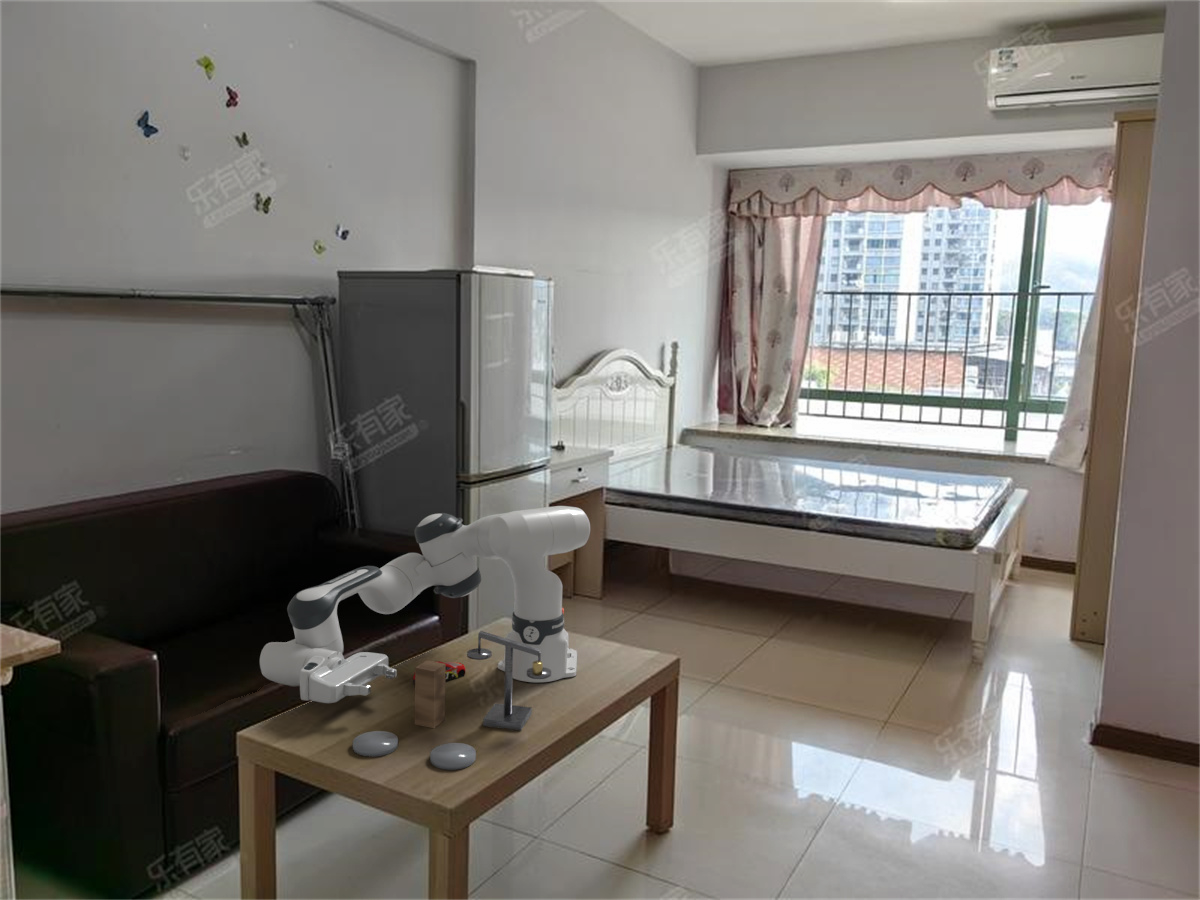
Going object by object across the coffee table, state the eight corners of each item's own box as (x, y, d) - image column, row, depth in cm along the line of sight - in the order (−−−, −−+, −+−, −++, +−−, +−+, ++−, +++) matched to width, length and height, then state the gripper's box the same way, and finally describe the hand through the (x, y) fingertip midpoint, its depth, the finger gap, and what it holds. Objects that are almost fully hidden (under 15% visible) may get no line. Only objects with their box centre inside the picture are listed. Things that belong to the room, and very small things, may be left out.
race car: (456, 669, 221) (456, 652, 220) (470, 675, 217) (470, 659, 216) (408, 683, 211) (409, 666, 211) (423, 690, 207) (423, 673, 207)
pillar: (426, 715, 194) (426, 660, 192) (444, 719, 192) (445, 663, 191) (414, 724, 190) (415, 667, 188) (433, 728, 188) (434, 671, 187)
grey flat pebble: (439, 746, 181) (439, 740, 180) (481, 751, 179) (481, 745, 179) (423, 766, 172) (423, 760, 172) (467, 772, 171) (467, 766, 171)
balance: (472, 707, 199) (474, 624, 196) (554, 716, 196) (556, 632, 193) (460, 723, 191) (461, 636, 188) (544, 733, 188) (547, 645, 185)
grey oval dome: (364, 734, 184) (364, 728, 184) (404, 739, 183) (404, 733, 183) (345, 753, 176) (345, 747, 176) (387, 759, 175) (387, 753, 175)
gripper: (355, 668, 209) (409, 679, 204) (295, 703, 190) (353, 715, 185) (355, 641, 208) (409, 651, 203) (295, 673, 189) (353, 685, 184)
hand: (382, 682), depth 194 cm, fingers open, 8 cm apart
